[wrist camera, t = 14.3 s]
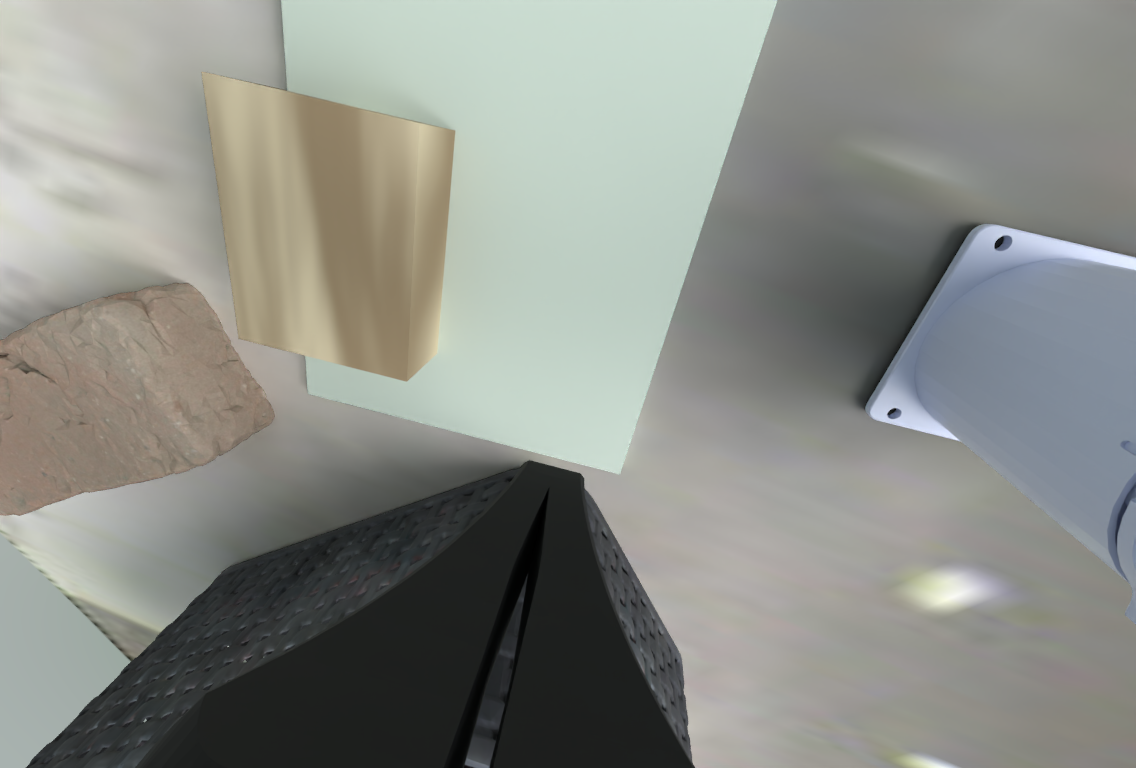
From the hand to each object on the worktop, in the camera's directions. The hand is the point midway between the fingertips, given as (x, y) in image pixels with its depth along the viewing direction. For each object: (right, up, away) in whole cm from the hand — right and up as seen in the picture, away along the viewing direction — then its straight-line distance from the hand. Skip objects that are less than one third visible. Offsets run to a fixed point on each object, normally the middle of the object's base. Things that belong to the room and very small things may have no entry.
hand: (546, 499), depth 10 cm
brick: (-24, +3, +15) cm, 28 cm away
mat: (-3, +9, +8) cm, 12 cm away
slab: (-5, +7, +6) cm, 11 cm away
